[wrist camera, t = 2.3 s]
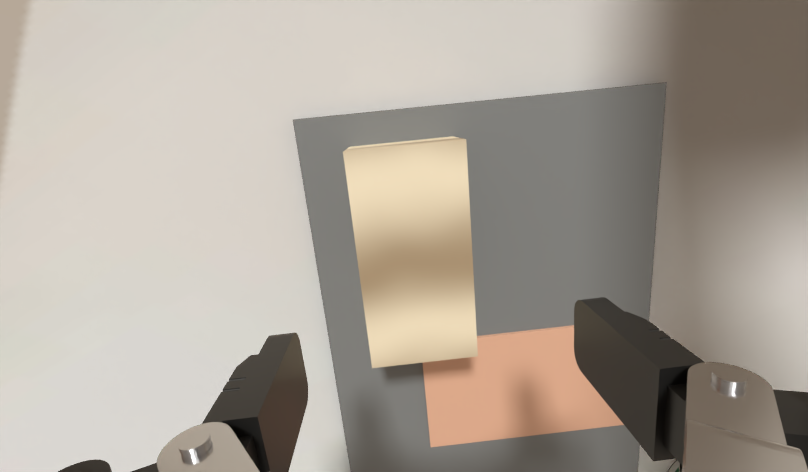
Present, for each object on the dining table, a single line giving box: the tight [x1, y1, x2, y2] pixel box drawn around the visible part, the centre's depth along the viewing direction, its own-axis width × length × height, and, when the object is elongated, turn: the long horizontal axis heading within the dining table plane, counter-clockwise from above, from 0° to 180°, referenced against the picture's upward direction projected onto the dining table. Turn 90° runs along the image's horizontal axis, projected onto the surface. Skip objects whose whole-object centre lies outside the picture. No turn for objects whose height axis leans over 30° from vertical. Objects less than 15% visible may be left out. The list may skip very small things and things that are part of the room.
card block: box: [343, 136, 478, 368], centre depth 20 cm, size 10×5×4 cm, turn 5°
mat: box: [293, 82, 667, 472], centre depth 23 cm, size 24×18×1 cm
